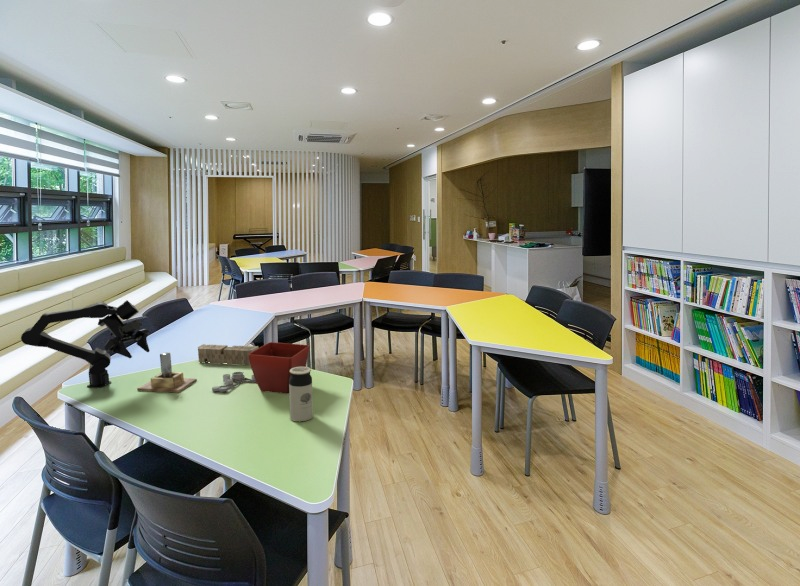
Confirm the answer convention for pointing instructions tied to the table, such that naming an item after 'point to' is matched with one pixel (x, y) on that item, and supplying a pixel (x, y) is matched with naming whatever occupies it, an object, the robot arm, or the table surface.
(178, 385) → the socket board
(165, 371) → the metal pin
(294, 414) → the travel mug
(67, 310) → the robot arm
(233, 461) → the table surface
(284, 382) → the plant pot
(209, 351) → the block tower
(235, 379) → the pulley system
